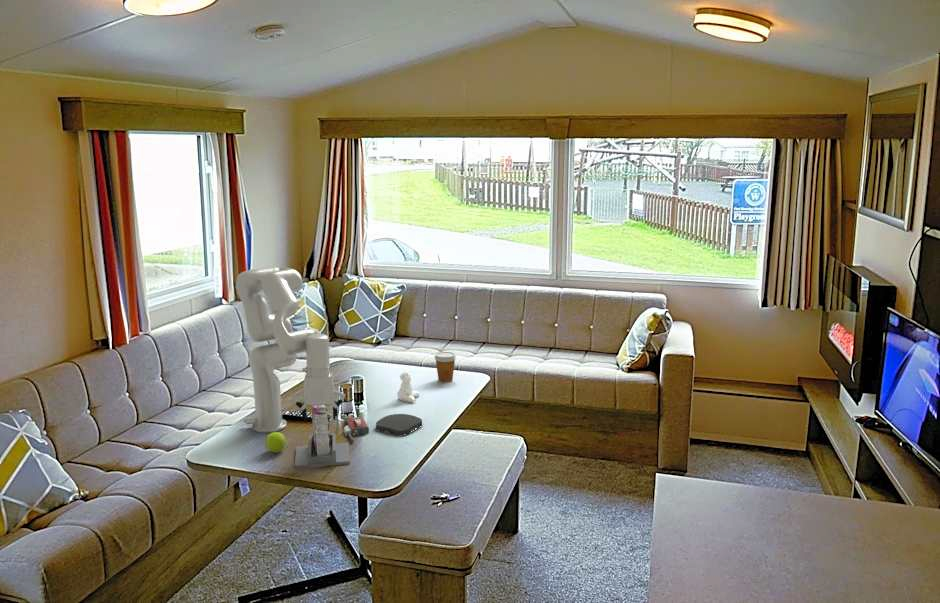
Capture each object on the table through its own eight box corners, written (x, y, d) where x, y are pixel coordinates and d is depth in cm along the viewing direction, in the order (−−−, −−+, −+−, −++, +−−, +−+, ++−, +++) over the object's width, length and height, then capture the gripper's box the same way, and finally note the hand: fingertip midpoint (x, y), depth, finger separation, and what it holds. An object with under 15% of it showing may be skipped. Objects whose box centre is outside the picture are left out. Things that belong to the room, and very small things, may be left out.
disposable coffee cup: (459, 378, 343) (459, 352, 340) (450, 384, 334) (450, 358, 332) (440, 375, 347) (440, 350, 344) (431, 382, 338) (430, 356, 336)
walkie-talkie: (339, 425, 289) (350, 445, 271) (338, 414, 288) (349, 433, 270) (362, 422, 292) (374, 441, 274) (361, 411, 291) (373, 430, 273)
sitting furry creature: (415, 403, 311) (414, 375, 308) (394, 402, 312) (393, 374, 310) (420, 396, 320) (419, 368, 318) (400, 395, 321) (399, 367, 319)
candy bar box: (312, 447, 265) (310, 402, 261) (327, 445, 266) (325, 401, 263) (316, 460, 254) (313, 413, 251) (331, 458, 256) (329, 412, 252)
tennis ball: (266, 456, 260) (264, 437, 259) (265, 449, 267) (264, 430, 265) (286, 454, 262) (285, 435, 261) (285, 446, 269) (284, 428, 267)
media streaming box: (395, 418, 296) (395, 410, 296) (426, 425, 289) (426, 417, 288) (371, 430, 284) (371, 422, 284) (403, 438, 277) (402, 430, 276)
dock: (294, 468, 251) (293, 454, 250) (296, 449, 267) (296, 435, 265) (349, 464, 254) (349, 450, 253) (348, 445, 270) (348, 431, 269)
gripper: (291, 375, 249) (293, 424, 253) (344, 373, 252) (346, 422, 256) (292, 368, 256) (294, 416, 260) (344, 366, 259) (345, 413, 263)
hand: (319, 419), depth 258 cm, fingers open, 9 cm apart
